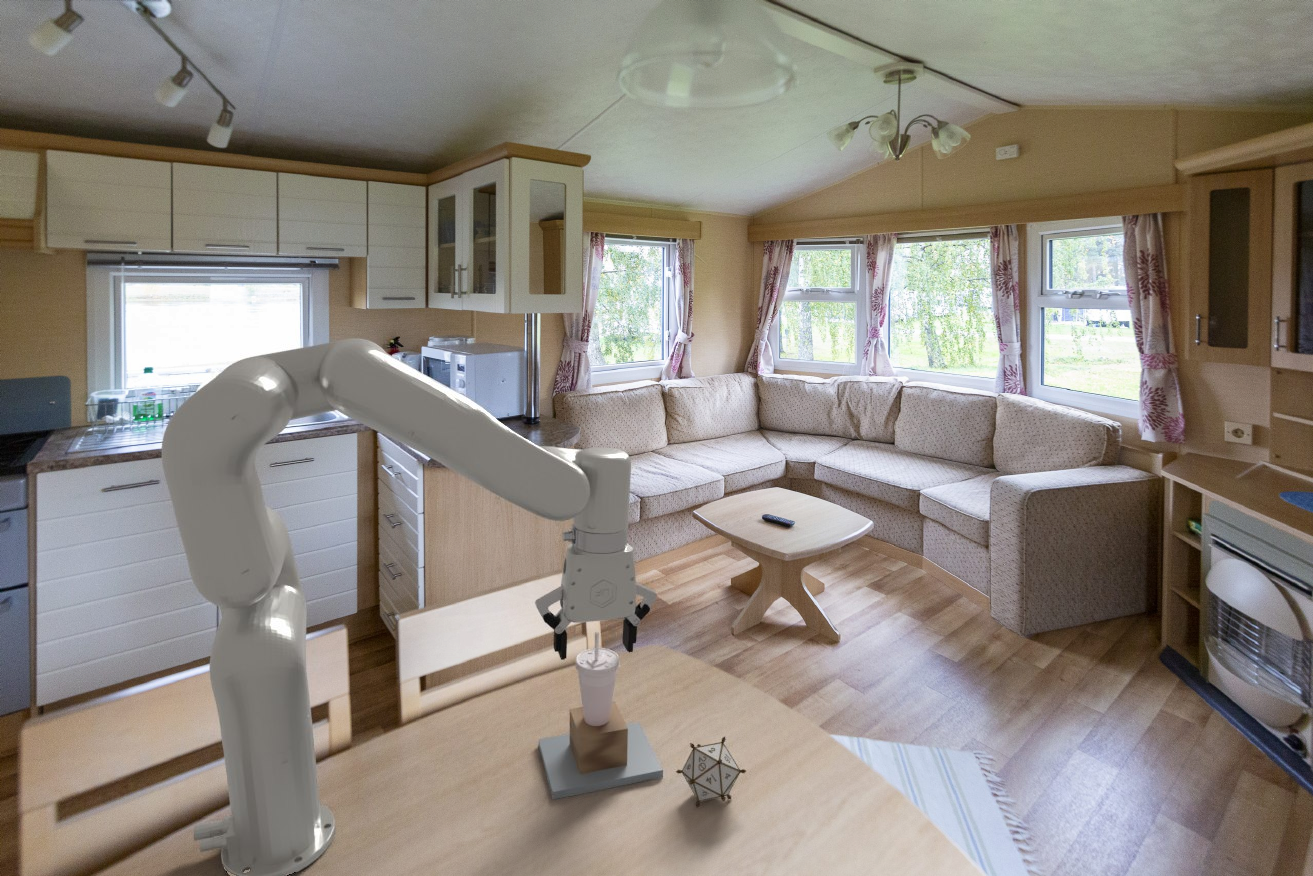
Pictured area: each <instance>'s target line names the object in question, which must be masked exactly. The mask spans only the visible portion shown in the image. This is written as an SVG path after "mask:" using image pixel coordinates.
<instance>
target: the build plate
mask: <svg viewBox="0 0 1313 876" xmlns="http://www.w3.org/2000/svg"><path fill="white" fill-rule="evenodd" d="M625 724H626V726H627V728H628V746H627V765H625V766H620V767H615V768H610V769H605V770H600V771H595V772H590V773H585V774H580V773H579V770H578V768H577V765H576V762H575V759H574V756H573V753H572V750H571V747H570V733H566V734H560V735H555V736H549V737H542V738H538V748H539V752H540V756H541V759H542V764H543V768H544V771H545V775H546V779H547V783H548V785H549V786H548V787H549V790H550V793H551V797H552V800H558V799H562V798H567V797H572V796H578V795H581V794H587V793H591V792H592V793H593V792H597V791H602V790H606V789H611V788H612V789H613V788H617V787H621V786H627V785H630V784H635V783H642V782H646V781H651V780H656V779H660V778H664V769H663V767H662V765H661V763H660V761H659V758H658V757H657V755H656V753H655V750H654V748H653V747H652V745H651V743H650V741H649V739H648V737H647V735H646V732H645V731H644V729H643V727H642V725H641V723H640V721H634V722H628V723H625Z"/></svg>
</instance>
